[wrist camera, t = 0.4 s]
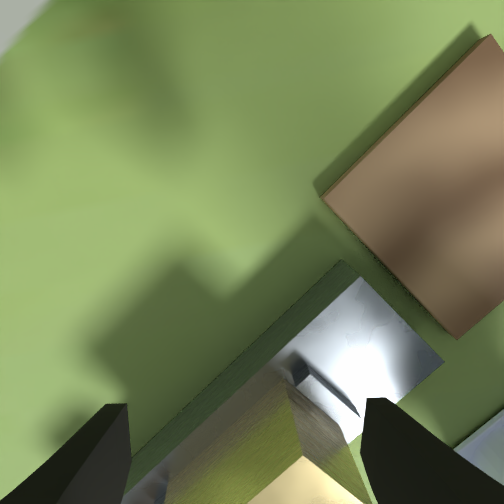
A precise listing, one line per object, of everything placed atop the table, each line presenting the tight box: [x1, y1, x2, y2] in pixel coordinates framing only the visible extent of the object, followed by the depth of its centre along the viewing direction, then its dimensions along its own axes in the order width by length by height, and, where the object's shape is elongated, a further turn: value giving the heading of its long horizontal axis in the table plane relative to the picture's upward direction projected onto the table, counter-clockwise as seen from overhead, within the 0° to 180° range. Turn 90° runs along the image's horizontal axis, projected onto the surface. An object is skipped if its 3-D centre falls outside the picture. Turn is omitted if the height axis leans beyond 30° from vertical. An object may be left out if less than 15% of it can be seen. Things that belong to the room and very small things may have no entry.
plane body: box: [121, 259, 444, 504], centre depth 19 cm, size 7×22×7 cm, turn 135°
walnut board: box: [320, 34, 504, 340], centre depth 19 cm, size 12×11×1 cm
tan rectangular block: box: [164, 378, 372, 504], centre depth 17 cm, size 4×9×5 cm, turn 135°
